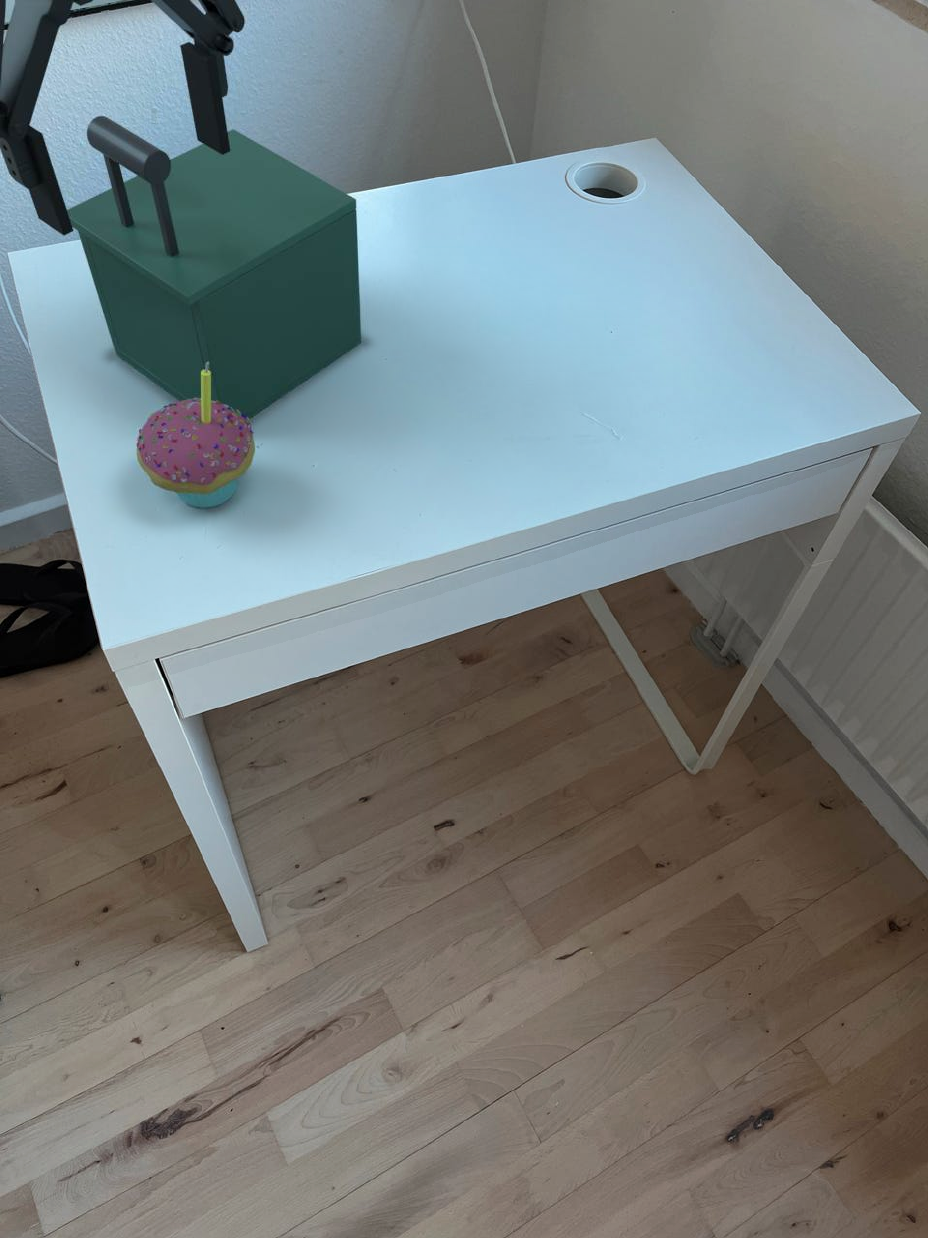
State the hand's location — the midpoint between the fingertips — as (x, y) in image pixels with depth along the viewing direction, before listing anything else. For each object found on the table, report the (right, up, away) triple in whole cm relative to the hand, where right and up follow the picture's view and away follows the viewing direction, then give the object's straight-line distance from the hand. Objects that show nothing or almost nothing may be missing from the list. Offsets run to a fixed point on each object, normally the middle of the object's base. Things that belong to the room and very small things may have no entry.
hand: (138, 183), depth 65 cm
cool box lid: (+3, +1, +7) cm, 8 cm away
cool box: (+3, -6, +18) cm, 19 cm away
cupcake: (+2, -20, +9) cm, 22 cm away
